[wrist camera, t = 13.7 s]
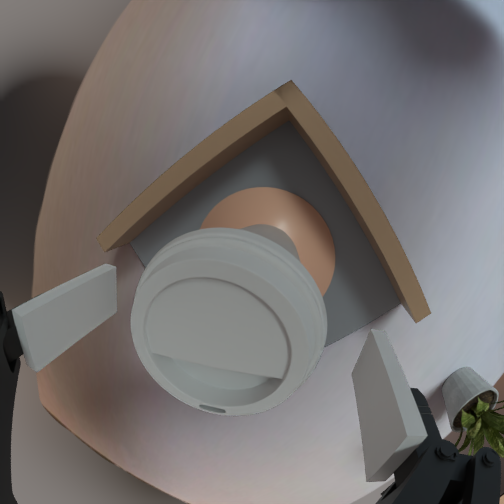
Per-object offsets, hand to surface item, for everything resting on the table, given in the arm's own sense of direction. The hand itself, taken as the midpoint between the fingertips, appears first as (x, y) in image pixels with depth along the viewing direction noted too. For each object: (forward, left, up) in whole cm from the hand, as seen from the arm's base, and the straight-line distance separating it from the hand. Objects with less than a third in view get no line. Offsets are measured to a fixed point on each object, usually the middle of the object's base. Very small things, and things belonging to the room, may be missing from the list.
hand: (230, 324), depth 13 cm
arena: (+1, 0, -14) cm, 14 cm away
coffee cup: (0, 0, -13) cm, 13 cm away
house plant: (-13, +28, -14) cm, 34 cm away
